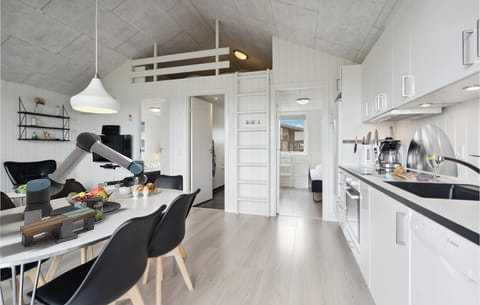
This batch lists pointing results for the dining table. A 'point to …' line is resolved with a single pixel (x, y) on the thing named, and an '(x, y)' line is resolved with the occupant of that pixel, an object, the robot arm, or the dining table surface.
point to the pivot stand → (61, 231)
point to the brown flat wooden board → (55, 221)
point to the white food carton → (32, 216)
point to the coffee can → (95, 207)
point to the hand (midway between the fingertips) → (106, 186)
